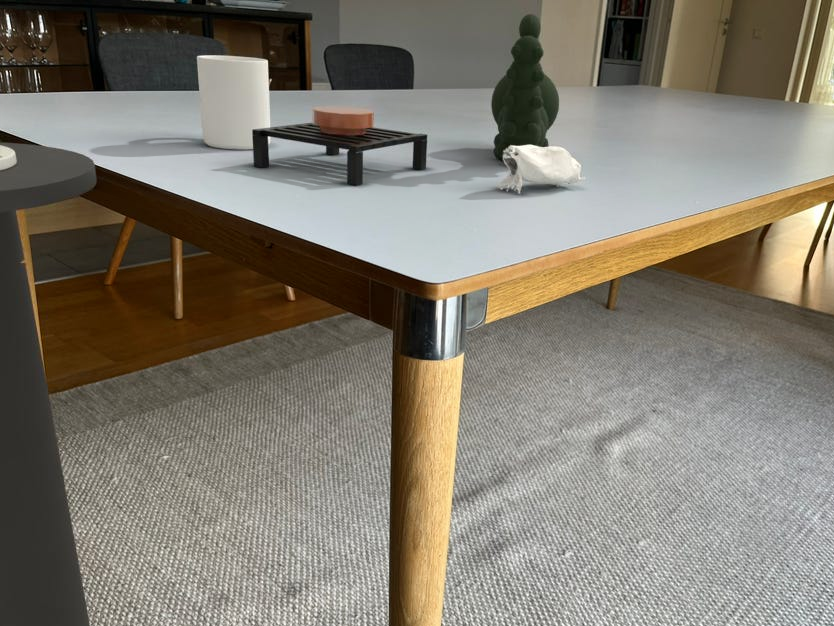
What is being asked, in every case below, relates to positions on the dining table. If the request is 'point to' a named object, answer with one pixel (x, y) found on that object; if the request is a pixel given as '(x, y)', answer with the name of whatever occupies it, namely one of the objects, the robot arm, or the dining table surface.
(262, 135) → the rack
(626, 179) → the dining table surface
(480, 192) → the dining table surface
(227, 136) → the mug
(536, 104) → the toy figurine
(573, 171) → the white lumpy oblong piece
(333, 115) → the terracotta round box
